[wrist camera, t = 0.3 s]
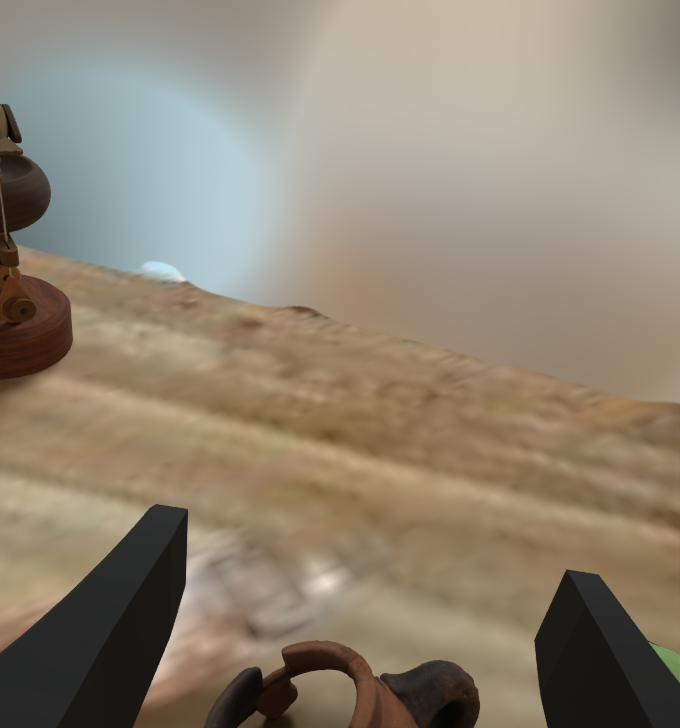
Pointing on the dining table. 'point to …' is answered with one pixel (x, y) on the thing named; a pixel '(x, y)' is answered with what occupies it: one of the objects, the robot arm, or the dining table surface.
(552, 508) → the dining table surface
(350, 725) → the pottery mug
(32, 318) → the music box
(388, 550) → the dining table surface
